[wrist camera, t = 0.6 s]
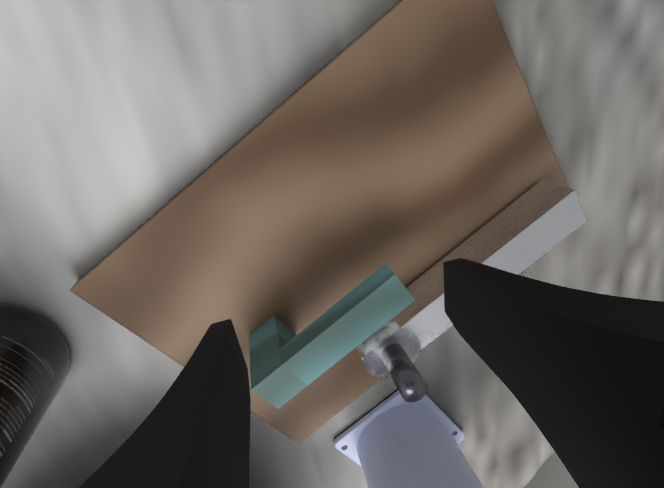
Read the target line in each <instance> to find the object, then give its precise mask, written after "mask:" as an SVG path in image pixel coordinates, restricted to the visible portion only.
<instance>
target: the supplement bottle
mask: <svg viewBox="0 0 664 488" xmlns="http://www.w3.org/2000/svg"><path fill="white" fill-rule="evenodd" d="M69 367H70V353H69V349H68V346H67V344H66V342H65V340H64V338H63V337H62V336H61V334H60V333H59V332H58V331H57V330H56V329H55V328H54V327H53V326H52V325H51V324H50V323H49V322H47V321H46V320H44V319H43V318H41V317H39V316H37V315H36V314H33V313H31V312H29V311H26V310H24V309H21V308H17V307H13V306H9V305H3V304H0V488H1V487H2V485H3V483H4V482H5V480H6V478H7V477H8V475H9V473H10V472H11V470H12V468H13V467H14V465H15V463H16V462H17V460H18V458H19V457H20V455H21V453H22V452H23V450H24V448H25V447H26V445H27V443H28V442H29V440H30V438H31V437H32V435H33V433H34V432H35V430H36V428H37V427H38V425H39V423H40V421H41V420H42V418H43V416H44V415H45V413H46V411H47V410H48V408H49V406H50V405H51V403H52V401H53V400H54V398H55V396H56V395H57V393H58V391H59V389H60V388H61V386H62V384H63V382H64V381H65V379H66V376H67V374H68V371H69Z"/></svg>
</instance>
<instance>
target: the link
mask: <svg viewBox="0 0 664 488" xmlns="http://www.w3.org/2000/svg"><path fill="white" fill-rule="evenodd" d="M586 221H587V220H586V217H585V215H584V212H583V210H582V207H581V205H580V202H579V199H578V197H577V194H576V192H575V190H573V189H570V188H566V187H563V186H560V185H556V184H553V183H549V182H546V181H543V180H541V181H540V182H538V183H537V184H536V185H535V186H533V187H532V188H531V189H530V190H528V191H527V192H526V193H525V194H523V195H522V196H521V197H520V198H518V199H517V200H516V201H515V202H513V203H512V204H511V205H510V206H508V207H507V208H506V209H505V210H503V211H502V212H501V213H500V214H498V215H497V216H496V217H495V218H493V219H492V220H491V221H490V222H488V223H487V224H486V225H484V226H483V227H482V228H481V229H479V230H478V231H477V232H476V233H474V234H473V235H472V236H471V237H469V238H468V239H467V240H466V241H464V242H463V243H462V244H461V245H459V246H458V247H457V248H456V249H454V250H453V251H452V252H451V253H449V254H448V255H447V256H446V257H444V258H443V259H442V260H441V261H439V262H438V263H437V264H436V265H434V266H433V267H432V268H431V269H429V270H428V271H427V272H426V273H424V274H423V275H422V276H421V277H419V278H418V279H417V280H415V281H414V282H413V283H412V284H410V285H409V286H408V287H407V288H406V289H407V290H408V291H409V292H410V294H411V295H412V296H413V297H414V299H415V301H414V302H412V303H411V304H410V305H409V306H407V307H406V308H405V309H404V310H402V311H401V312H400V313H399V314H397V315H396V316H395V317H393V318H392V319H391V320H390V321H388V322H387V323H386V324H385V325H383V326H382V327H381V328H380V329H378V330H377V331H376V332H375V333H373V334H372V335H371V336H370V337H368V338H367V339H366V340H364V341H363V342H362V343H361V344H359V345H358V346H357V347H356V349H357V351H358V353H359V355H360V358H361V360H362V362H363V364H364V366H365V368H366V370H367V371H368V372H369V373H370V374H372V375H373V376H376V377H380V378H382V379H385V378H389V377H392V379H393V381H394V383H395V384H396V386H397V388H398V390H399V392H400V394H401V396H402V398H403V399H404V400H405V401H406V402H409V403H413V402H417V401H419V400H421V399H422V398H423V397H424V396H425V395H426V393H427V390H428V387H427V384H426V383H425V381H424V380H423V378H422V377H421V375H420V374H419V372H418V370H417V369H416V367H415V366H414V363H415V361H416V360H417V358H418V356H419V354H420V350H422V349H423V348H424V347H426V346H427V345H428V344H429V343H431V342H432V341H433V340H435V339H436V338H437V337H438V336H440V335H441V334H442V333H444V332H445V331H446V330H447V329H449V328H450V327H451V326H453V324H452V322H451V321H450V319H449V318H448V316H447V315H446V313H445V310H444V274H443V262H446V261H450V260H454V259H457V258H462V259H467V260H471V261H474V262H478V263H481V264H484V265H488V266H491V267H494V268H497V269H501V270H504V271H507V272H510V273H514V274H517V275H518V274H519V273H521V272H522V271H523V270H524V269H526V268H527V267H528V266H530V265H531V264H532V263H533V262H535V261H536V260H537V259H539V258H540V257H541V256H542V255H544V254H545V253H546V252H548V251H549V250H550V249H551V248H553V247H554V246H555V245H557V244H558V243H559V242H560V241H562V240H563V239H564V238H566V237H567V236H568V235H569V234H571V233H572V232H573V231H575V230H576V229H577V228H578V227H580V226H581V225H582V224H584V223H585V222H586Z"/></svg>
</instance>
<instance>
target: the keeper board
mask: <svg viewBox="0 0 664 488" xmlns="http://www.w3.org/2000/svg"><path fill="white" fill-rule="evenodd" d="M541 180H543V181H546V182H549V183H553V184H556V185H560V186H563V187H566V188H567V185H566V183H565V180H564V178H563V175H562V173H561V170H560V168H559V165H558V163H557V160H556V158H555V156H554V153H553V151H552V148H551V146H550V143H549V141H548V138H547V136H546V133H545V131H544V128H543V126H542V123H541V121H540V119H539V116H538V114H537V111H536V109H535V106H534V104H533V101H532V99H531V96H530V94H529V91H528V89H527V86H526V84H525V82H524V79H523V77H522V74H521V72H520V69H519V67H518V64H517V62H516V59H515V57H514V54H513V52H512V49H511V47H510V44H509V42H508V40H507V37H506V35H505V32H504V30H503V27H502V25H501V22H500V20H499V17H498V15H497V12H496V10H495V7H494V5H493V3H492V0H400V1H399V2H398V3H397V4H396V5H395V6H393V7H392V8H391V9H390V10H389V11H388V12H387V13H385V14H384V15H383V16H382V17H381V18H380V19H378V20H377V21H376V22H375V23H374V24H373V25H372V26H370V27H369V28H368V29H367V30H366V31H365V32H364V33H362V34H361V35H360V36H359V37H358V38H357V39H355V40H354V41H353V42H352V43H351V44H350V45H349V46H347V47H346V48H345V49H344V50H343V51H342V52H341V53H339V54H338V55H337V56H336V57H335V58H334V59H332V60H331V61H330V62H329V63H328V64H327V65H326V66H324V67H323V68H322V69H321V70H320V71H319V72H318V73H316V74H315V75H314V76H313V77H312V78H311V79H309V80H308V81H307V82H306V83H305V84H304V85H303V86H301V87H300V88H299V89H298V90H297V91H296V92H295V93H293V94H292V95H291V96H290V97H289V98H288V99H286V100H285V101H284V102H283V103H282V104H281V105H280V106H278V107H277V108H276V109H275V110H274V111H273V112H272V113H270V114H269V115H268V116H267V117H266V118H265V119H263V120H262V121H261V122H260V123H259V124H258V125H257V126H255V127H254V128H253V129H252V130H251V131H250V132H249V133H247V134H246V135H245V136H244V137H243V138H242V139H240V140H239V141H238V142H237V143H236V144H235V145H234V146H232V147H231V148H230V149H229V150H228V151H227V152H226V153H224V154H223V155H222V156H221V157H220V158H219V159H217V160H216V161H215V162H214V163H213V164H212V165H211V166H209V167H208V168H207V169H206V170H205V171H204V172H203V173H201V174H200V175H199V176H198V177H197V178H196V179H194V180H193V181H192V182H191V183H190V184H189V185H188V186H186V187H185V188H184V189H183V190H182V191H181V192H180V193H178V194H177V195H176V196H175V197H174V198H173V199H171V200H170V201H169V202H168V203H167V204H166V205H165V206H163V207H162V208H161V209H160V210H159V211H158V212H157V213H155V214H154V215H153V216H152V217H151V218H150V219H148V220H147V221H146V222H145V223H144V224H143V225H142V226H140V227H139V228H138V229H137V230H136V231H135V232H134V233H132V234H131V235H130V236H129V237H128V238H127V239H125V240H124V241H123V242H122V243H121V244H120V245H119V246H117V247H116V248H115V249H114V250H113V251H112V252H111V253H109V254H108V255H107V256H106V257H105V258H104V259H102V260H101V261H100V262H99V263H98V264H97V265H96V266H94V267H93V268H92V269H91V270H90V271H89V272H88V273H86V274H85V275H84V276H83V277H82V278H81V279H79V280H78V281H77V282H76V284H75V285H74V286H73V287H72V288H71V290H70V291H71V292H73V293H74V294H76V295H77V296H79V297H80V298H82V299H83V300H85V301H86V302H88V303H89V304H91V305H92V306H94V307H95V308H97V309H98V310H100V311H101V312H103V313H104V314H106V315H107V316H109V317H110V318H112V319H113V320H115V321H116V322H118V323H119V324H121V325H122V326H124V327H125V328H127V329H128V330H130V331H131V332H133V333H134V334H136V335H137V336H139V337H140V338H142V339H143V340H145V341H146V342H148V343H149V344H151V345H152V346H154V347H155V348H157V349H158V350H159V351H161V352H162V353H164V354H165V355H167V356H168V357H170V358H171V359H173V360H174V361H176V362H177V363H179V364H180V365H182V366H183V367H185V365H186V364H187V362H188V361H189V359H190V357H191V356H192V354H193V353H194V351H195V349H196V348H197V346H198V344H199V343H200V341H201V339H202V338H203V336H204V334H205V333H206V331H207V330H208V328H209V326H210V325H211V324H213V323H217V322H220V321H224V320H228V319H231V320H232V323H233V326H234V329H235V332H236V335H237V338H238V341H239V344H240V347H241V350H242V353H243V356H244V359H245V362H246V365H247V368H248V376H249V386H250V397H251V406H250V411H251V412H252V413H254V414H255V415H257V416H258V417H260V418H261V419H263V420H264V421H266V422H267V423H269V424H270V425H272V426H273V427H275V428H276V429H278V430H279V431H281V432H282V433H284V434H285V435H287V436H288V437H290V438H291V439H293V440H294V441H296V442H297V443H300V442H301V441H302V440H304V439H305V438H306V437H307V436H309V435H310V434H311V433H313V432H314V431H315V430H316V429H318V428H319V427H320V426H322V425H323V424H324V423H325V422H327V421H328V420H329V419H331V418H332V417H333V416H334V415H336V414H337V413H338V412H340V411H341V410H342V409H343V408H345V407H346V406H347V405H349V404H350V403H351V402H352V401H354V400H355V399H356V398H357V397H359V396H360V395H361V394H363V393H364V392H365V391H366V390H368V389H369V388H370V387H372V386H373V385H374V384H375V383H377V382H378V381H379V380H381V379H382V378H380V377H376V376H373V375H372V374H370V373H369V372H368V371H367V370H366V368H365V366H364V364H363V362H362V360H361V358H360V355H359V353H358V351H357V349H356V347H357V346H358V345H359V344H361V343H362V342H363V341H364V340H366V339H367V338H368V337H370V336H371V335H372V334H373V333H375V332H376V331H377V330H378V329H380V328H381V327H382V326H383V325H385V324H386V323H387V322H388V321H390V320H391V319H392V318H393V317H395V316H396V315H397V314H399V313H400V312H401V311H402V310H404V309H405V308H406V307H407V306H409V305H410V304H411V303H412V302H414V301H415V299H414V297H413V296H412V295H411V294H410V292H409V291H408V290H407V289H406V288H407V287H408V286H409V285H410V284H412V283H413V282H414V281H415V280H417V279H418V278H419V277H421V276H422V275H423V274H424V273H426V272H427V271H428V270H429V269H431V268H432V267H433V266H434V265H436V264H437V263H438V262H439V261H441V260H442V259H443V258H444V257H446V256H447V255H448V254H449V253H451V252H452V251H453V250H454V249H456V248H457V247H458V246H459V245H461V244H462V243H463V242H464V241H466V240H467V239H468V238H469V237H471V236H472V235H473V234H474V233H476V232H477V231H478V230H479V229H481V228H482V227H483V226H484V225H486V224H487V223H488V222H490V221H491V220H492V219H493V218H495V217H496V216H497V215H498V214H500V213H501V212H502V211H503V210H505V209H506V208H507V207H508V206H510V205H511V204H512V203H513V202H515V201H516V200H517V199H518V198H520V197H521V196H522V195H523V194H525V193H526V192H527V191H528V190H530V189H531V188H532V187H533V186H535V185H536V184H537V183H538V182H540V181H541Z"/></svg>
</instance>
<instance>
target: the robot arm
mask: <svg viewBox="0 0 664 488" xmlns="http://www.w3.org/2000/svg"><path fill="white" fill-rule="evenodd" d="M443 274H444V310H445V313H446V315H447V316H448V318H449V319H450V321H451V322H452V324H453V325H454V327H455V328H456V330H457V331H458V332H459V334H460V335H461V336H462V337H463V339H464V340H465V341H466V342H467V343H468V344H469V345H470V346H471V348H472V349H473V350H474V351H475V352H476V353H477V354H478V355H479V356H480V358H481V359H482V360H483V361H484V362H485V363H486V364H487V365H488V366H489V367H490V368H491V370H492V371H493V372H494V373H495V374H496V375H497V376H498V377H499V378H500V379H501V380H502V382H503V383H504V384H505V385H506V386H507V387H508V388H509V390H510V391H511V392H512V393H513V394H514V396H515V397H516V398H517V399H518V401H519V402H520V403H521V405H522V406H523V407H524V409H525V410H526V412H527V413H528V414H529V416H530V417H531V418H532V420H533V421H534V422H535V424H536V425H537V426H538V428H539V429H540V431H541V432H542V434H543V435H544V436H545V438H546V439H547V441H548V442H549V443H550V445H551V446H552V448H553V449H554V451H555V452H556V453H557V455H558V456H559V458H560V459H561V461H562V462H563V464H564V465H565V467H566V468H567V470H568V472H569V473H570V475H571V476H572V478H573V479H574V481H575V482H576V484H577V485H578V487H579V488H664V302H661V301H650V300H640V299H633V298H625V297H617V296H610V295H604V294H597V293H592V292H587V291H582V290H576V289H571V288H567V287H562V286H558V285H554V284H550V283H546V282H542V281H538V280H534V279H531V278H527V277H524V276H520V275H517V274H514V273H510V272H507V271H504V270H501V269H497V268H494V267H491V266H488V265H484V264H481V263H478V262H474V261H471V260H467V259H462V258H457V259H454V260H450V261H446V262H443ZM250 406H251V397H250V386H249V376H248V368H247V365H246V362H245V359H244V356H243V353H242V350H241V347H240V344H239V341H238V338H237V335H236V332H235V329H234V326H233V323H232V320H231V319H228V320H224V321H220V322H217V323H213V324H211V325H210V326H209V328H208V330H207V331H206V333H205V334H204V336H203V338H202V339H201V341H200V343H199V344H198V346H197V348H196V349H195V351H194V353H193V354H192V356H191V357H190V359H189V361H188V362H187V364H186V365H185V367H184V368H183V370H182V371H181V373H180V374H179V376H178V377H177V379H176V380H175V382H174V383H173V384H172V386H171V387H170V389H169V390H168V391H167V393H166V394H165V396H164V397H163V398H162V400H161V401H160V402H159V403H158V405H157V406H156V407H155V408H154V410H153V411H152V412H151V413H150V414H149V416H148V417H147V418H146V419H145V420H144V421H143V423H142V424H141V425H140V426H139V427H138V428H137V430H136V431H135V432H134V433H133V434H132V435H131V436H130V437H129V438H128V439H127V440H126V441H125V442H124V443H123V444H122V445H121V446H120V447H119V448H118V449H117V451H116V452H115V453H114V454H113V455H112V456H111V457H110V458H109V459H108V460H107V461H106V462H105V463H104V464H103V465H102V466H101V467H100V468H99V469H98V470H97V471H96V472H95V473H94V474H92V475H91V476H90V477H89V478H88V479H87V480H86V481H85V482H84V483H83V484H82V485H81V486H80V487H79V488H249V447H250ZM464 438H465V435H464V433H463V432H462V431H461V430H460V429H459V428H458V427H457V426H456V425H455V424H454V423H453V422H452V420H451V419H450V418H449V417H448V416H447V415H446V414H445V413H444V412H443V411H442V410H441V409H440V408H439V407H438V406H437V405H436V404H435V403H434V402H433V401H432V400H431V399H430V398H429V397H428V396H427V395H425V396H424V397H423V398H422V399H421V400H419V401H417V402H413V403H409V402H406V401H405V400H404V399H403V398H402V396H401V394H400V392H399V390H398V391H396V392H395V393H394V394H393V395H391V396H390V397H389V398H387V399H386V400H385V401H383V402H382V403H381V404H380V405H378V406H377V407H376V408H374V409H373V410H372V411H371V412H369V413H368V414H367V415H365V416H364V417H363V418H362V419H360V420H359V421H358V422H356V423H355V424H354V425H352V426H351V427H350V428H349V429H347V430H346V431H345V432H343V433H342V434H341V435H340V436H338V437H337V438H336V439H335V440H334V446H335V448H336V449H337V450H339V451H340V452H342V453H343V454H344V455H346V456H347V457H349V458H350V459H351V460H353V461H354V462H356V463H357V464H359V465H360V466H361V467H362V469H363V472H364V475H365V478H366V481H367V484H368V487H369V488H484V487H483V485H482V484H481V482H480V481H479V479H478V477H477V476H476V474H475V472H474V471H473V469H472V468H471V466H470V464H469V463H468V461H467V460H466V458H465V456H464V455H463V453H462V451H461V450H460V448H459V447H458V445H457V444H458V443H460V442H461V441H462V440H463V439H464Z"/></svg>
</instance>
